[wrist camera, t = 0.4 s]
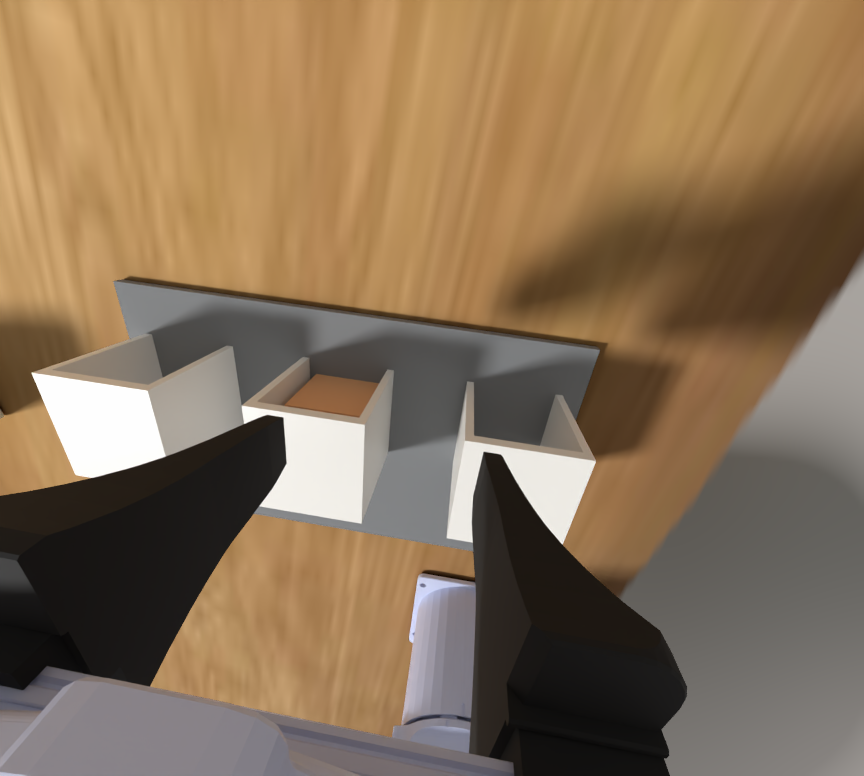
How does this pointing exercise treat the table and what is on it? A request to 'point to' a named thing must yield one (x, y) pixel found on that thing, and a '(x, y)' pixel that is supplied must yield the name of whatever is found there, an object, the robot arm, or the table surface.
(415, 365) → the mat
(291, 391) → the white u-channel shell
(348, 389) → the cube
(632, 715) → the robot arm
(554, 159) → the table surface
